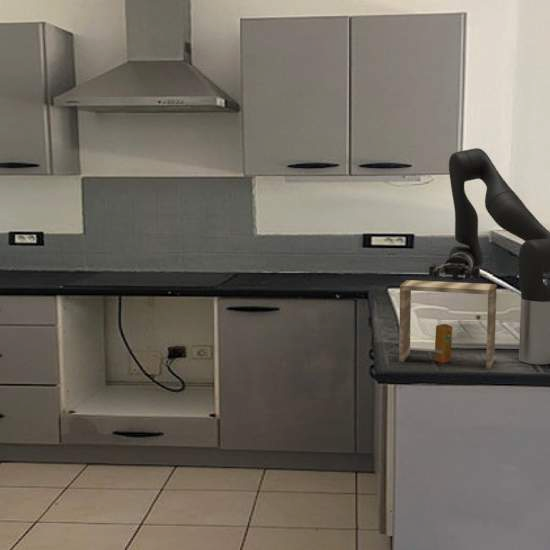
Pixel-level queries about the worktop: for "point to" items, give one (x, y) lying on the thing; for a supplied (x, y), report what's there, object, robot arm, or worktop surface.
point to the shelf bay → (451, 288)
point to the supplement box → (443, 343)
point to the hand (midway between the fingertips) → (451, 274)
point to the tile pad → (422, 346)
